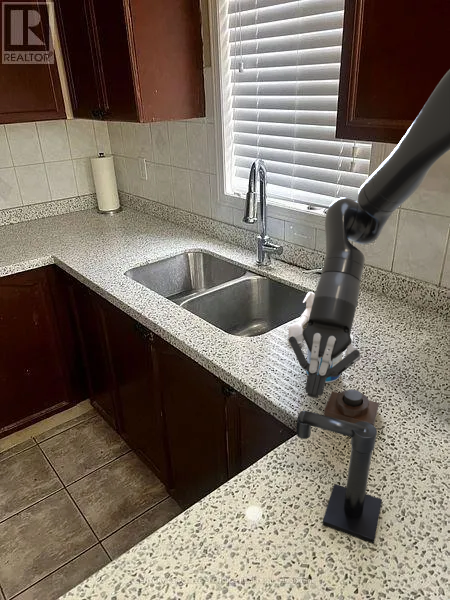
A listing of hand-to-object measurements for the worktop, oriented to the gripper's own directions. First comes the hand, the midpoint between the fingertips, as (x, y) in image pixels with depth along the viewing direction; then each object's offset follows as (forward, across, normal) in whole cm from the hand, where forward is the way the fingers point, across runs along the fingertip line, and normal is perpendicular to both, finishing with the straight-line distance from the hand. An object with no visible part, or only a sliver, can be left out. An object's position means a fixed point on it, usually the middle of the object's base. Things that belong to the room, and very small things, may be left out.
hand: (312, 397), depth 76 cm
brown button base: (-1, +4, +23) cm, 24 cm away
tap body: (+16, +10, +6) cm, 20 cm away
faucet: (-24, -16, +47) cm, 55 cm away
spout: (+6, +5, -4) cm, 9 cm away
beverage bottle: (-9, -5, +32) cm, 33 cm away
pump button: (-3, +5, +21) cm, 22 cm away
